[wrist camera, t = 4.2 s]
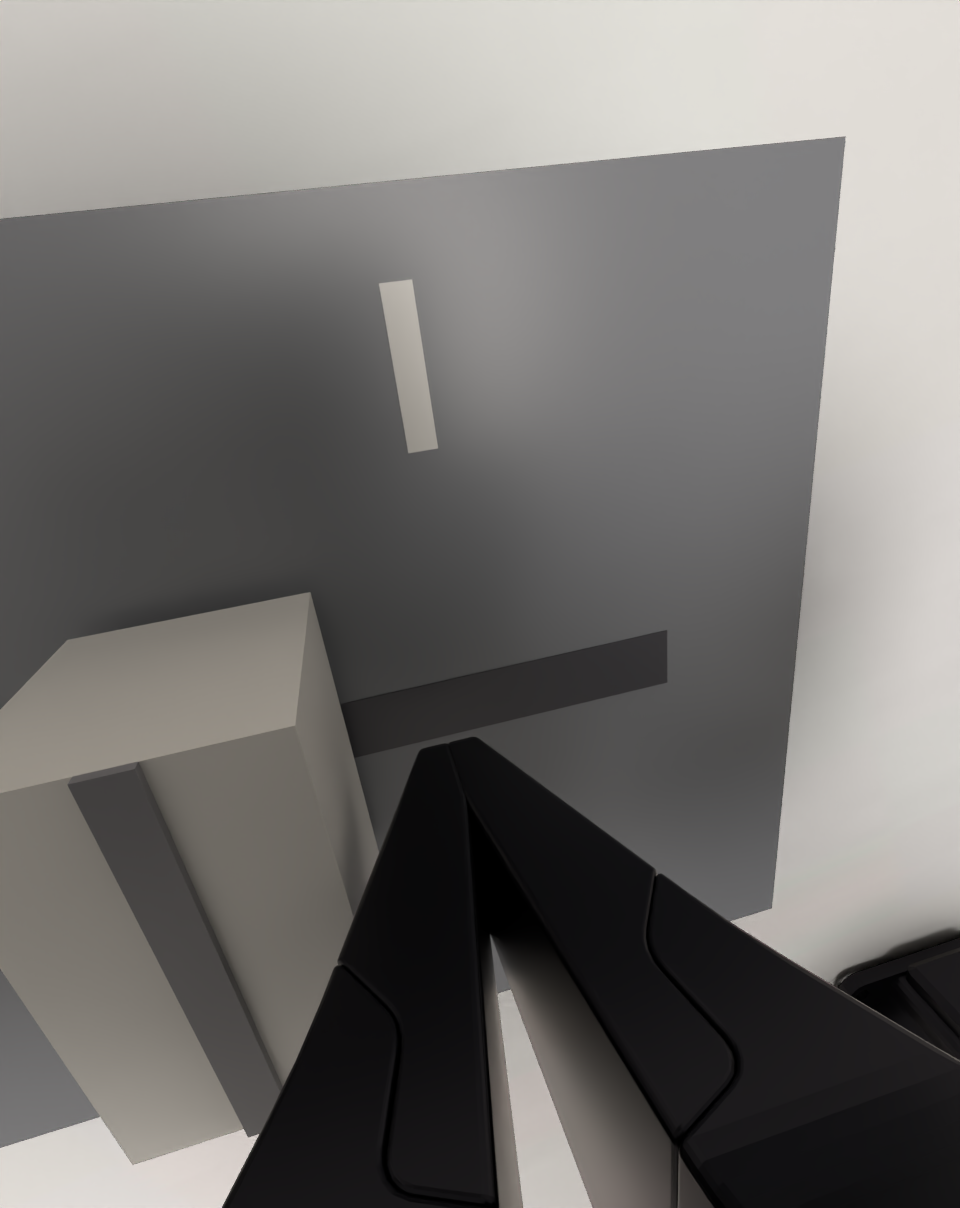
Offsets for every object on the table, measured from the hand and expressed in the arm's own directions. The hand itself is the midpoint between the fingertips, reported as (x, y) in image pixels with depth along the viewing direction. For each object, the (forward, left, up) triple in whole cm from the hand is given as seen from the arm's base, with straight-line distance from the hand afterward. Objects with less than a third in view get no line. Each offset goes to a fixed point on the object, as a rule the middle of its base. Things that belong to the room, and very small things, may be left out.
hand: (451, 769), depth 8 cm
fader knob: (0, +3, -1) cm, 3 cm away
